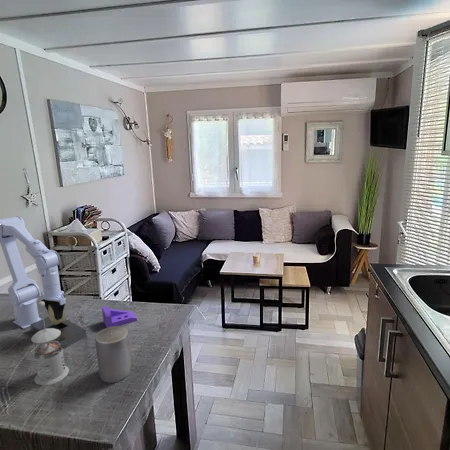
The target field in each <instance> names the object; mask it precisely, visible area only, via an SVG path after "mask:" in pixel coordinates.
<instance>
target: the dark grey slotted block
mask: <svg viewBox="0 0 450 450" xmlns="http://www.w3.org/2000/svg"><path fill="white" fill-rule="evenodd" d="M41 319H42V320H40V321H37V322H35V323H32V324H30V332H32V333H33V334H36V333H37V332H39V331H41V330H44V329H45V328H46V329H48V328H54V329H58V330H60V331H61V334H60V336H59V337H58V338H57V339H55V340H54V341H58V342H60V343H61V347H62V349H65V348H67V347H69V346H71V345H73V344H75V343H77V342H79V341H81V340H83V339H85V338H87V329H85V328H83V327H81V326H80V325H77V324H75V323H74V322H71V321H70V320H67V319H66V318H65V321H64V322H61V323H59V324H56V325H54V324H53V323H51V322H50V319H49V316H47V317H45V318H44V321H43V318H41ZM44 322H45V328H44ZM59 350H61V349H60V348H59Z"/></svg>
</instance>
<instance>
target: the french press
mask: <svg viewBox="0 0 450 450" xmlns="http://www.w3.org/2000/svg"><path fill="white" fill-rule="evenodd" d="M44 305H45V303H44V302H43V301H41V300H40V301H39V302H38V303H37V307H38V308H40V307H41V314H42V319H43V321H44V319H45V318H44V317H45V315H44V309H43V307H45V306H44ZM44 328H45V322H44ZM33 334H34V335H32V336H31V339H30V340H31V342H32V343H33V349H34V352H35V353H34V360H35V367H36V373H37V374H36V375H35V377H34V383H35V384H36V385H40V386H49V385H53V384H56V383H58V382H60V381H62V380H63V379H65V377H67V376H68V374H69V372H70V368H69V367H68V366H66V364H65V358H64V350H63V349H64V348H63V349H62V347H61V343H60V342H58V341H54V340H55V339H57V338H58V337H59V336H60V334H61V331H60V330H58V329H54V328H48V329H46V328H45V329H44V330H41V331H39V332H37V333H36V334H35V333H33ZM35 344H36V345H37V344H38V346H37V347H35ZM59 348H60V349H59ZM55 352H56V353H55ZM42 356H43V357H44V358H43V357H42ZM44 366H45V367H44Z"/></svg>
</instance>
